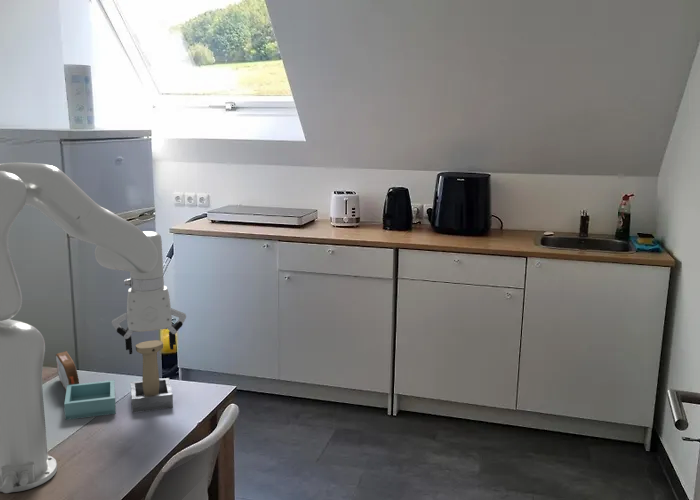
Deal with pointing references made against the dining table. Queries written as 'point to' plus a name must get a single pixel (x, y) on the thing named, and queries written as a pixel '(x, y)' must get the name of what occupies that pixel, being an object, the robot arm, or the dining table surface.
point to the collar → (151, 397)
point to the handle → (150, 365)
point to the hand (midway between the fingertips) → (151, 349)
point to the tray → (90, 399)
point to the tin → (66, 369)
